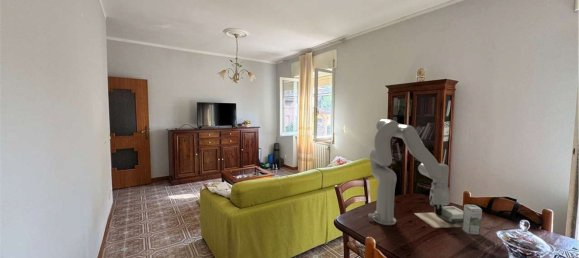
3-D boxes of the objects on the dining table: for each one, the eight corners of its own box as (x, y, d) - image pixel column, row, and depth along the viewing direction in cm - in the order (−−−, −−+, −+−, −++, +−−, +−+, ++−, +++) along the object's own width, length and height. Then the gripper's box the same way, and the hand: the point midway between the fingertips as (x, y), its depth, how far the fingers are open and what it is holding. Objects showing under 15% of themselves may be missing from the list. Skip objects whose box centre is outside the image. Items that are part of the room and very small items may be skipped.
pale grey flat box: (450, 224, 136) (450, 213, 136) (433, 213, 150) (434, 203, 149) (471, 223, 137) (472, 212, 137) (453, 213, 151) (453, 203, 150)
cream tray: (433, 228, 133) (433, 227, 133) (414, 213, 151) (414, 213, 151) (476, 226, 135) (476, 225, 135) (452, 212, 153) (452, 211, 153)
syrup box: (472, 229, 131) (474, 204, 130) (480, 235, 125) (482, 208, 124) (461, 229, 132) (463, 203, 131) (468, 234, 126) (470, 208, 125)
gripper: (432, 187, 137) (430, 217, 138) (456, 186, 138) (454, 217, 139) (424, 183, 144) (422, 212, 146) (447, 182, 145) (445, 211, 147)
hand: (438, 214), depth 143 cm, fingers closed
